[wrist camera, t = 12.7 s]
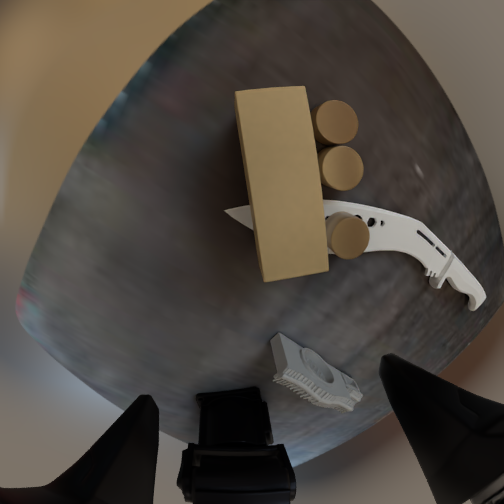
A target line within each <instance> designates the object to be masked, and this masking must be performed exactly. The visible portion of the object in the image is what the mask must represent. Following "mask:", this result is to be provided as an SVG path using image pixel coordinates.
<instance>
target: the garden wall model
mask: <svg viewBox="0 0 504 504" xmlns="http://www.w3.org/2000/svg"><path fill="white" fill-rule="evenodd" d="M270 343H271V347H272V352H273V356H274V361H275V365H276V369H277V374H276V375H274V378H275V379H274V380H273V382H275V381H276V383H279V382H280V385H281V384H283V383H284V384H283V386H284V385H286V387H289V386H291V388H290V390H291V389H294V388H295V390H293V392H295V391H299V392H297V395H298V394H300V393H301V394H302V395H301V396H300V398H301V397H303V399H308V400H307V401H308V402H310V401H311V404H315V405H318V406H320V407H323V408H324V407H327V408H328V407H330V408H334V409H336V410H339V412H340V411H342V412H341V413H344V412H347V411H352V410H353V406H354V405H355V404H356V403H357V402H359V401H360V400H361V398H362V397H363V394H361V393H360V390H359V388H358V386H357V384H356V382H355V380H353V379H352V378H350V377H348V376H347V375H345V374H344V373H342V372H340V371H339V370H337V369H336V368H334V367H332V366H331V365H329V364H327V363H326V362H325V361H324V360H323V359H322V358H321V357H320V356H319V355H318V354H317V353H315V352H314V351H313V350H311V349H309V348H302V347H301V346H299V345H298V344H296V343H295V342H293V341H292V340H290V339H289V338H287V337H286V336H284V335H283V334H281V333H280V332H279V333H278V334H277V335H275V336H274V337H273V338H272V339H271V340H270ZM277 380H278V381H277ZM287 384H288V385H287ZM304 396H305V397H304ZM337 408H338V409H337Z"/></svg>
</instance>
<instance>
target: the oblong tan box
mask: <svg viewBox="0 0 504 504" xmlns="http://www.w3.org/2000/svg"><path fill="white" fill-rule="evenodd" d="M234 108H235V114H236V120H237V127H238V133H239V139H240V146H241V152H242V159H243V165H244V171H245V178H246V184H247V191H248V197H249V204H250V210H251V217H252V223H253V230H254V236H255V243H256V250H257V256H258V263H259V267H260V270H261V274H262V277H263V280H264V282H271V281H276V280H282V279H288V278H293V277H299V276H304V275H310V274H315V273H320V272H326V271H329V265H328V250H327V238H326V226H325V216H324V206H323V197H322V188H321V180H320V173H319V165H318V158H317V152H316V145H315V139H314V133H313V127H312V121H311V115H310V110H309V105H308V100H307V94H306V90H305V86H291V87H275V88H262V89H252V90H244V91H236V92H235V105H234Z"/></svg>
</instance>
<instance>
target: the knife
mask: <svg viewBox="0 0 504 504" xmlns="http://www.w3.org/2000/svg"><path fill="white" fill-rule="evenodd" d="M323 206H324V216H325V218H326V216H331V215H332V214H334V213H336V212H341V211H344V212H348V213H350V214H352V215H357V214H358V215H360V216H361V219H362V220H363V221H364V222H365V223H366V224H367V221H368V220H369V218H374V220H375V223H374V225H373V226H372V227H368V229H369V233H370V239H369V243H368V246H367V248H366V249H365V251H364V252H371V251H399V252H404V253H407V254H409V255H412V256H413V257H415V258H417V259H418V260H419V261H420V262H421V263H422V264H423V265H424V267H425V268H426V270H425V273H424V275H426V276H430V279H429V284H430V285H431V287H433V288H435V289H436V288H441V286H442V284H443V282H444V281H445V279H447V280H448V282H449V283H450V285H451V286H452V287H453V288H454V289H455V290H457V291H459V292H462V293H465V294H467V295H468V296H469V302H468V308H469V310H472V311H474V310H476V309H477V308H478V307H479V306H480V305H481V304H482V303H483V301H484V300H485V299H486V294H485V292H484V289H483V288H482V286H481V285H480V283H479V282H478V281H477V280H476V278H475V277H474V276H473V275H472V274H471V273H470V271H469V270H468V269H467V268H466V267H465V266H464V265H463V264H462V262H461V261H460V260H459V259H458V258H457V257H456V256H455V255H454V254H453V253H452V252H451V251H450V250H449V249H448V248H447V247H446V246H445V245H444V244H443V243H442V242H441V241H440V240H439V239H438V238H437V237H436V236H435V235H434V234H433V233H432V232H431V231H430V230H429V229H428V228H427V227H426V226H425V225H424V224H423V223H422V222H420V221H418V220H415V219H413V218H411V217H408V216H405V215H401V214H398V213H395V212H391V211H388V210H384V209H380V208H376V207H371V206H366V205H361V204H356V203H350V202H344V201H336V200H323ZM224 211H225V212H226V213H228V214H229V215H230V216H231V217H233V218H234V219H236V220H237V221H239V222H240V223H242V224H243V225H245V226H247V227H248V228H250V229H252V230H253V223H252V217H251V210H250V205H246V206H241V207H236V208H232V209H228V210H224ZM381 221H383V224H382V226H380V225H381ZM367 226H368V225H367ZM417 230H419V231H421V232H422V233H423V234H424V235H425V236H426V237H427V238H428V239H429V240H431V241H432V242H433V245H430V244H429V243H428V242H427V241H426V240H425V239H424V238H423V237H421V236H420V235H419V234H417ZM436 246H437V247H438V248H439V249H440V250H441V251H442V252H443V253H444V255H443V256H442V255H441V254H440V253H439V252H438V251H437V250H436V249H435V248H436ZM327 250H328V254H335V253H334V252H333V251H331V250H330V249H329V248H328V247H327Z"/></svg>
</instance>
